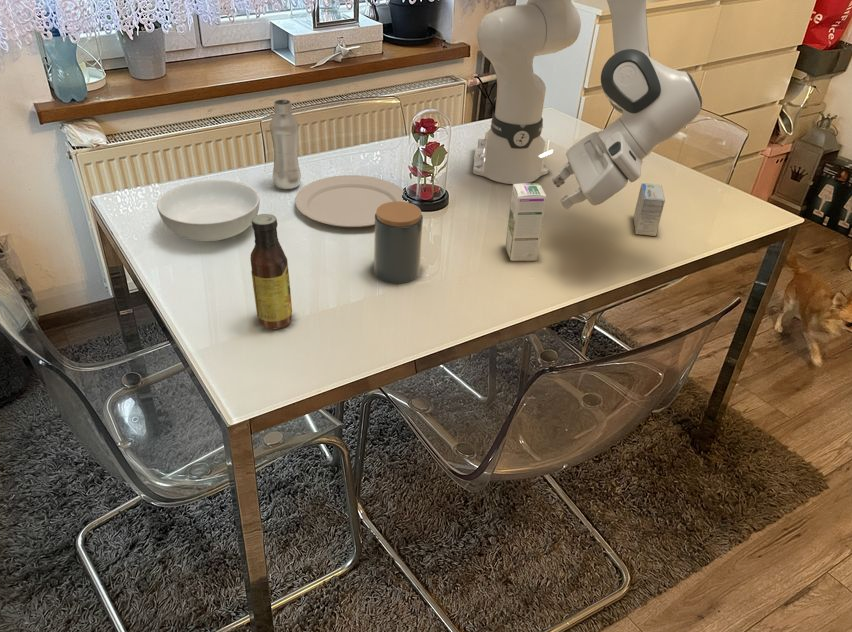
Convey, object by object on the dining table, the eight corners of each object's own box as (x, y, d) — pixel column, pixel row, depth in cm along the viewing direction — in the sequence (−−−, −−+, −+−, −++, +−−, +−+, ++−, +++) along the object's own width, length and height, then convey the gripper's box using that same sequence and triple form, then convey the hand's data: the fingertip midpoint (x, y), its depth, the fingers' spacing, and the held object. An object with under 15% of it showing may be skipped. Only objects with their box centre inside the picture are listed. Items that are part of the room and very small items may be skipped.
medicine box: (655, 237, 158) (666, 200, 153) (634, 234, 159) (644, 197, 153) (652, 220, 164) (662, 184, 159) (632, 218, 165) (641, 182, 160)
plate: (332, 174, 180) (332, 166, 178) (427, 198, 170) (427, 190, 169) (273, 216, 161) (272, 208, 160) (375, 245, 152) (375, 236, 151)
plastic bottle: (267, 185, 174) (261, 101, 162) (291, 178, 177) (286, 95, 165) (283, 195, 170) (278, 109, 158) (307, 187, 174) (303, 102, 162)
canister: (372, 259, 148) (373, 200, 140) (417, 259, 148) (420, 200, 140) (375, 283, 141) (376, 223, 133) (421, 283, 141) (425, 222, 133)
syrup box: (537, 261, 149) (548, 195, 140) (508, 261, 148) (518, 195, 140) (531, 247, 153) (542, 182, 144) (503, 247, 153) (512, 182, 144)
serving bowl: (256, 203, 166) (254, 175, 162) (267, 248, 150) (264, 218, 146) (162, 211, 162) (156, 182, 158) (162, 259, 146) (156, 228, 142)
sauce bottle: (299, 323, 130) (293, 222, 117) (267, 335, 127) (258, 232, 115) (281, 306, 134) (273, 207, 122) (250, 316, 131) (239, 216, 119)
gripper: (598, 115, 143) (540, 161, 149) (622, 157, 127) (557, 206, 133) (616, 138, 146) (559, 182, 152) (642, 181, 130) (577, 229, 136)
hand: (558, 194), depth 143 cm, fingers open, 8 cm apart
